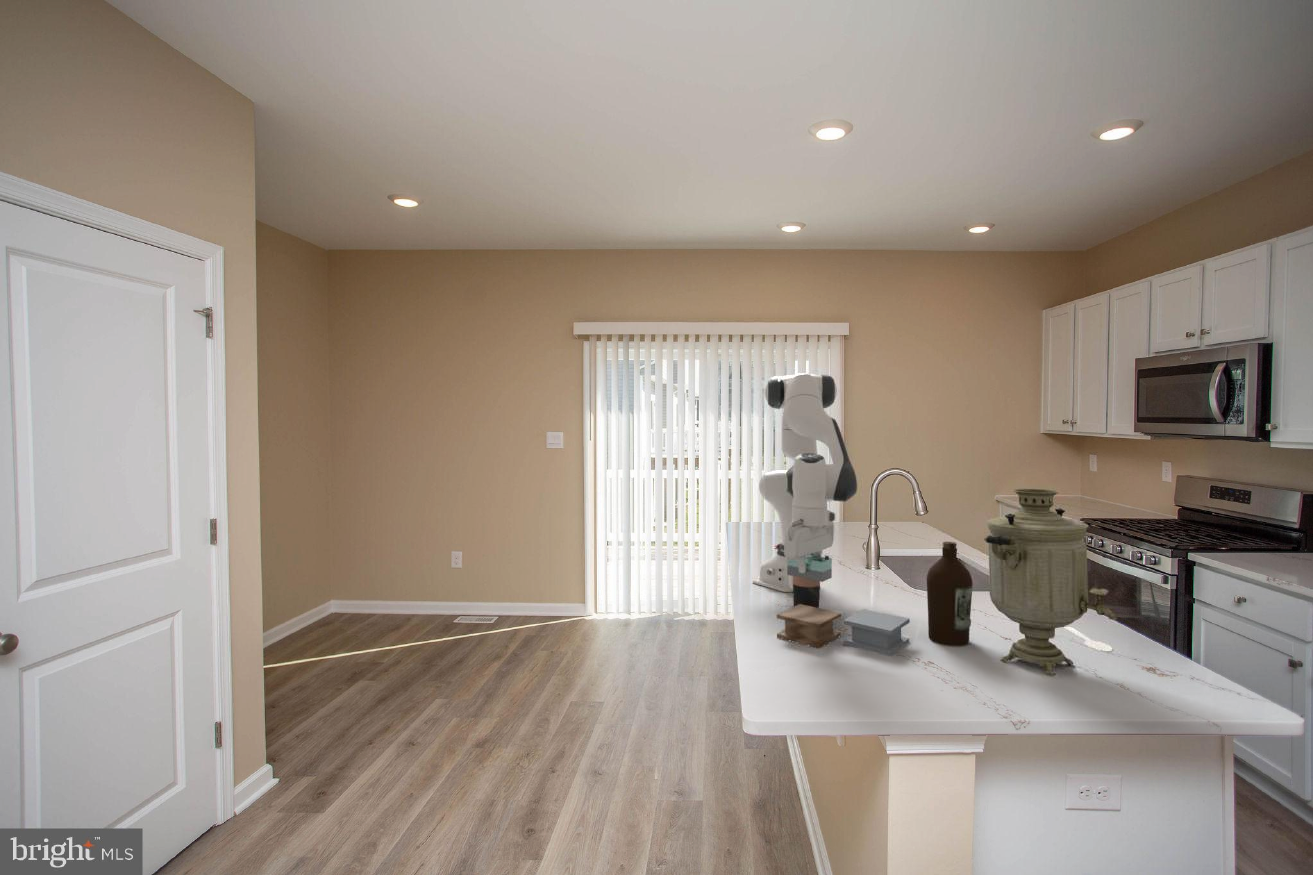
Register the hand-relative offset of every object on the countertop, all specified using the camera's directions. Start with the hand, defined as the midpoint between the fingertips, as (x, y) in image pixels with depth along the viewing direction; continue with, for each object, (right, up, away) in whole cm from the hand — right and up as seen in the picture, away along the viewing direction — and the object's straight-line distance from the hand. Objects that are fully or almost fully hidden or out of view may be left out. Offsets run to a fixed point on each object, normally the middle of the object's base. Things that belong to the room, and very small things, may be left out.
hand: (809, 569), depth 164 cm
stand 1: (0, -17, 0) cm, 17 cm away
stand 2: (+16, -18, -4) cm, 24 cm away
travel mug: (+4, -17, +20) cm, 26 cm away
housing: (0, -2, 0) cm, 2 cm away
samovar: (+49, -18, -20) cm, 56 cm away
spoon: (+70, -18, -2) cm, 73 cm away
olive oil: (+35, -18, -3) cm, 39 cm away
